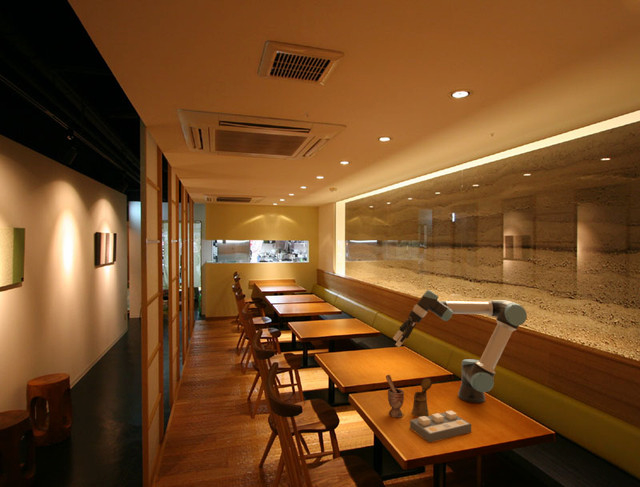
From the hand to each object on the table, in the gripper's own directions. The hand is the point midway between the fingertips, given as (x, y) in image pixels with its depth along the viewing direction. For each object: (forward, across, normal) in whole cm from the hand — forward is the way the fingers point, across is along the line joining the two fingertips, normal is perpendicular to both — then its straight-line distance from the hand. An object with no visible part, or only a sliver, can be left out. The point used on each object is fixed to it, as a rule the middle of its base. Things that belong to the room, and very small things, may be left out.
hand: (395, 342), depth 220 cm
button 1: (+21, +31, +28) cm, 47 cm away
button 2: (+12, +23, +40) cm, 48 cm away
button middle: (+16, +27, +34) cm, 47 cm away
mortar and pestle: (+31, +13, +19) cm, 38 cm away
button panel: (+18, +29, +36) cm, 50 cm away
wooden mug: (+21, +10, +32) cm, 40 cm away
